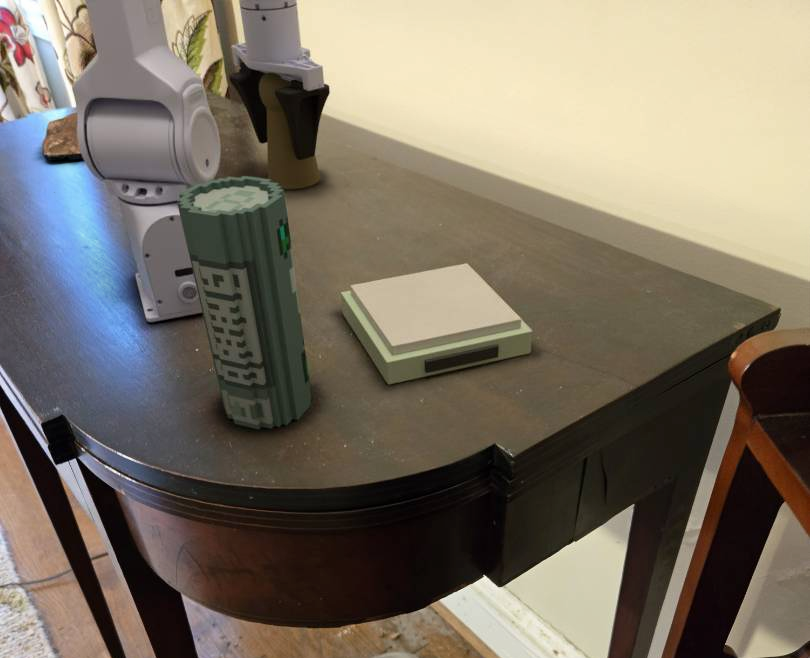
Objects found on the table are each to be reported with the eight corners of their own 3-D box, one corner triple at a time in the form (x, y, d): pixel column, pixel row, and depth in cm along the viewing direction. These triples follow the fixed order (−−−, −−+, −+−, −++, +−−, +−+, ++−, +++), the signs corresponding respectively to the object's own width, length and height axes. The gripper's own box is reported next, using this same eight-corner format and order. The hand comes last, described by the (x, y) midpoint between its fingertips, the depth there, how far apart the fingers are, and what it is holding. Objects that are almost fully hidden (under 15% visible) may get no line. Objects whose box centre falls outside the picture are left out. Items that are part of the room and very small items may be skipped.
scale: (532, 355, 61) (535, 323, 59) (389, 387, 58) (387, 354, 56) (470, 288, 69) (471, 258, 67) (342, 313, 66) (339, 283, 64)
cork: (311, 190, 87) (299, 80, 79) (260, 187, 88) (244, 78, 80) (326, 171, 91) (316, 65, 84) (277, 169, 92) (263, 63, 85)
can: (324, 390, 58) (299, 183, 47) (283, 436, 54) (246, 220, 43) (254, 374, 60) (216, 172, 49) (210, 417, 56) (158, 206, 45)
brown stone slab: (38, 139, 103) (28, 109, 100) (134, 125, 106) (127, 96, 103) (46, 166, 95) (35, 134, 92) (149, 149, 98) (142, 118, 96)
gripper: (343, 8, 75) (353, 156, 85) (263, -10, 83) (280, 126, 93) (283, 20, 72) (300, 172, 82) (205, -1, 80) (229, 140, 90)
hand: (286, 149), depth 87 cm, fingers open, 7 cm apart
